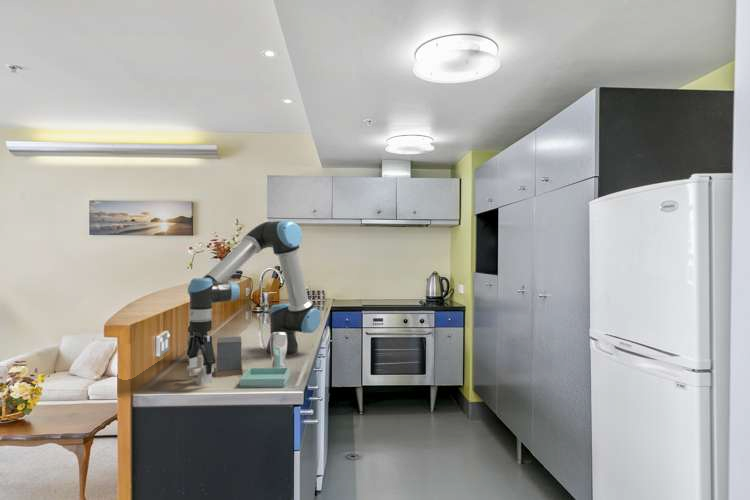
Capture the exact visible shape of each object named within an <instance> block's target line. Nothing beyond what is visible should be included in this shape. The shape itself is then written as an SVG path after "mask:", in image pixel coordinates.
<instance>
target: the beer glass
mask: <svg viewBox="0 0 750 500" xmlns="http://www.w3.org/2000/svg"><path fill="white" fill-rule="evenodd" d="M269 339H270V351H271V353H270V355H271V367H270V368H287V367H286V358H287V357H286V355H287V354H286V351H287V333H286V332H273V333H271V336H269Z"/></svg>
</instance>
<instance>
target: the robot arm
mask: <svg viewBox="0 0 750 500" xmlns="http://www.w3.org/2000/svg"><path fill="white" fill-rule="evenodd" d="M302 239H303V234H302V230H301V227H300V226H299V225H298V223H295V221H291V220H277V221H276V220H275V221H265V222H263V223H260V224H258V225H257V226H256V227H253V229H251V230H250V231H249V232H247V233H246V234H245V235H244V236H243V238H242V241H241V242H240V243H239V244H238V245H237V246H236V247H235V248H233V250H232V251H230V252H229V253H228V254H227V255H225V257H223V259H222V260H220V262H218V264H216V265H215V266H214V267H213V268H212V269H211V270H210V271H208V272H207V273H206V274H205V275H204V276H203V277H196V278H192V279H191V280H190V283H189V285H188V287H187V294H188V295H189V312H188V315H189V320H192V321H190V323H189V325H190V331H191V332H190V340H189V345H188V344H187V351H186V355H187V356H188V355H189V361H188V363H189V364H188V366H194V367H198V362H197V357H198V355H197V353H198V350H199V348H200V349H201V351H202V355H203V359H204V361H203V366H204V372H203V383H202V384H204V385H205V384H209V383H213V382H212V381H213V375H212V374H213V373H212V368H213V365H214V364H216V359H215V352H214V346H213V336H212V335H209V334H208V332H210V331H212V329H213V328H212V327H213V325H212V323H213V322H212V319H213V304H214V303H224V302H229V303H230V302H232V301H237V299H238V298H239V297H240V294H241V288H240V286H239V284H238V283H237V282H235V281H228V280H229V279H230V278H231V277H232V276H233V275H234V274H235V273H236V272H237V271H238V270H240V268H242V266H243V265H245V263H247V261H249V260H250V259H251V258H252V256H255V254H259V253H261V251H262V250H265V249H267V248H272V250H273V251H272V252H273V254H274V255H276V256H277V258H278V260H279V263H280V269H281V273H282V276H283V280H284V284H285V288H286V291H287V295H288V299H289V300H288V301H289V303H280V304H273V305H272V306H271V308H270V313H269V314H270V315H269V316H270V317H269V320H270V321H269V322H270V326H269V329H270V333H269V334H270V336H271V333H273V332H286V333H287V351H286V355H288V354H294V353H297V352H299V345H298V342H297V338H296V333H295V332H297V333H298V332H299V333H303V334H307V333H308V334H311V333H314V332H315V331H316V330H317V329H318V328H319V327H320V324H321V321H322V314H321V311H320V310H319V309H318V308H316V307H314V303H313V300H311V299H309V296H308V293H307V287H306V284H305V279H304V275H303V270H302V266H301V262H300V257H299V255H298V251H299V250H300V244H301V243H302ZM270 336H269V337H270ZM266 353H267V354H271V351H270V338H269V339H268V342H267V344H266ZM195 357H196V358H195ZM188 373H189V374H188V375H189V376H188V377H194V376H198V374H196V375H193V376H191V375H190V371H188Z"/></svg>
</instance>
